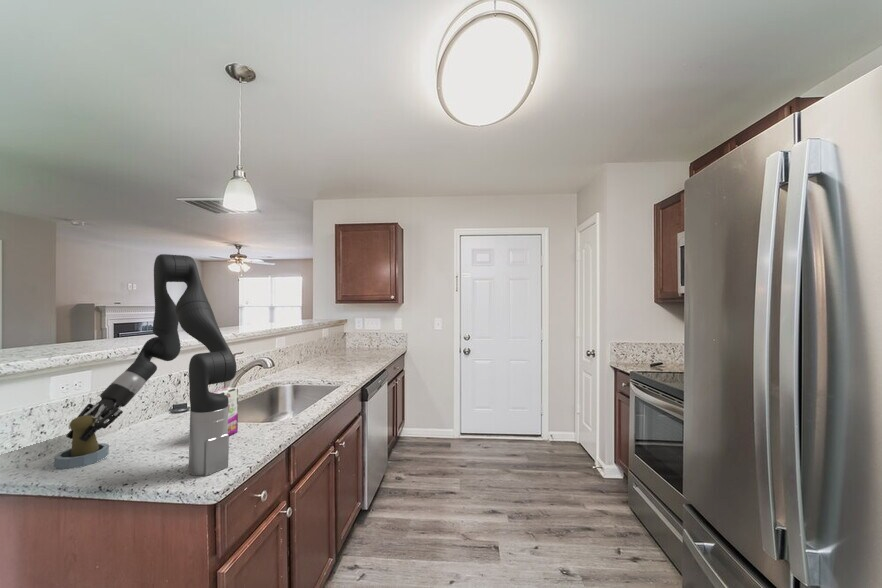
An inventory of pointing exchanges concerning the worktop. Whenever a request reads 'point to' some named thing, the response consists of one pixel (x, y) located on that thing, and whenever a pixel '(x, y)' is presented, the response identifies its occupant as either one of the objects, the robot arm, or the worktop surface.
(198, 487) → the worktop surface
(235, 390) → the candy bar box
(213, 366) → the robot arm
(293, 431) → the worktop surface
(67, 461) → the dish
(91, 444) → the cork
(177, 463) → the worktop surface
